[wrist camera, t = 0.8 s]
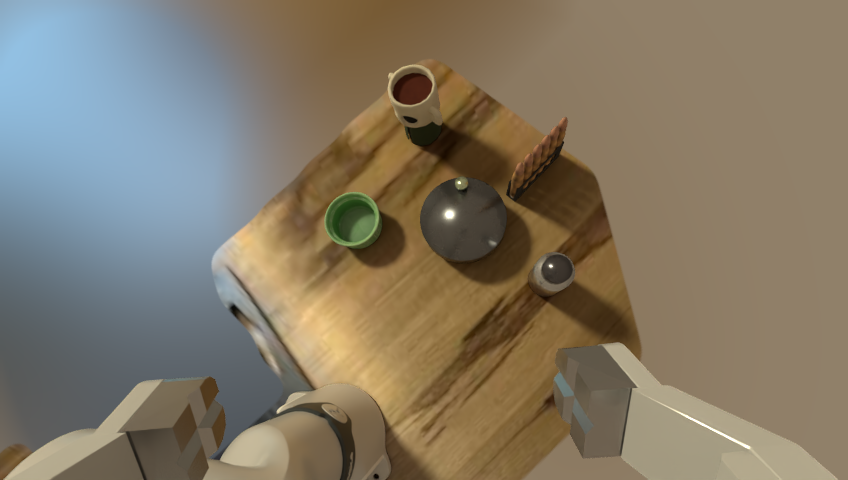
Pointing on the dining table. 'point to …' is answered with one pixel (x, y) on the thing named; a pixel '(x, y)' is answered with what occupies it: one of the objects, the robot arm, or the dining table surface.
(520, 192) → the ammunition clip
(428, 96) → the character mug
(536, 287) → the clear bottle
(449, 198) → the grey lid
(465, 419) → the dining table surface
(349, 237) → the ramekin
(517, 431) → the dining table surface
